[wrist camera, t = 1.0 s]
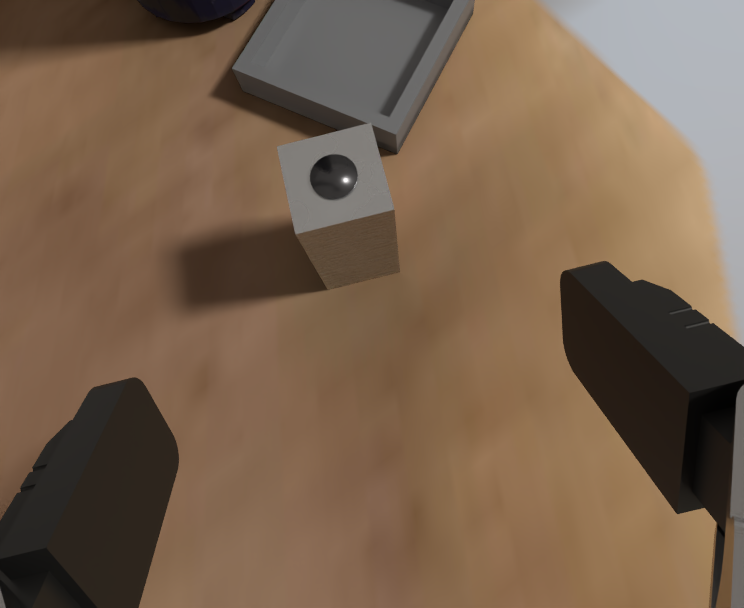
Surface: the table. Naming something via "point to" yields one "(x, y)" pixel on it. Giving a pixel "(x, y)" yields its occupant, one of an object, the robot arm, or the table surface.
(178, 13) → the grenade
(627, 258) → the table surface
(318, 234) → the grey tall block
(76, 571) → the robot arm
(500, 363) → the table surface
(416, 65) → the tray
